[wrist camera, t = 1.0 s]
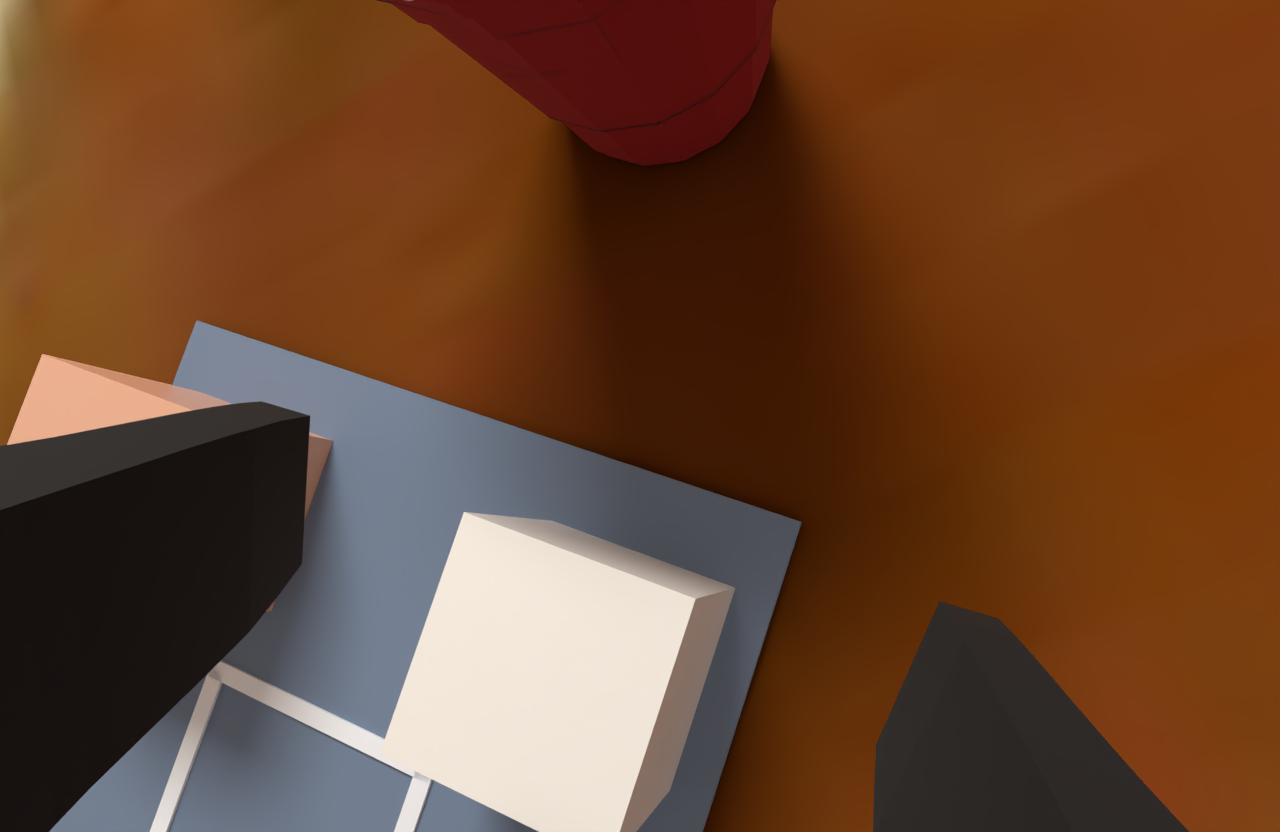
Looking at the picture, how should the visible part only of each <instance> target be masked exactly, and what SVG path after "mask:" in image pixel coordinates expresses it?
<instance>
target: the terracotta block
mask: <svg viewBox="0 0 1280 832" xmlns="http://www.w3.org/2000/svg"><path fill="white" fill-rule="evenodd" d="M229 404H231V403H229V402H226V401H223V400H220V399H218V398H215V397H212V396H210V395H207V394H204V393H201V392H199V391H194V390H190V389H186V388H182V387H178V386H174V385H170V384H165V383H161V382H157V381H153V380H149V379H145V378H140V377H136V376H132V375H128V374H124V373H120V372H115V371H111V370H107V369H103V368H99V367H95V366H91V365H86V364H82V363H78V362H74V361H70V360H66V359H61V358H57V357H53V356H49V355H45V354H42V356H41V359H40V361H39V364H38V367H37V369H36V372H35V374H34V377H33V379H32V382H31V385H30V387H29V390H28V392H27V395H26V397H25V400H24V403H23V405H22V408H21V410H20V413H19V415H18V418H17V421H16V423H15V426H14V428H13V431H12V433H11V436H10V438H9V441H8V444H7V445H10V444H16V443H22V442H28V441H33V440H39V439H45V438H51V437H57V436H62V435H67V434H72V433H78V432H83V431H88V430H93V429H98V428H103V427H108V426H114V425H119V424H124V423H129V422H134V421H139V420H144V419H150V418H155V417H160V416H165V415H170V414H176V413H181V412H186V411H192V410H197V409H203V408H209V407H215V406H222V405H229ZM332 443H333V440H330V439H327V438H324V437H322V436H319V435H316V434H314V433H311V432H309V448H308V465H307V483H306V501H305V517H306V514H307V512H308V509H309V506H310V503H311V501H312V498H313V495H314V492H315V490H316V487H317V484H318V481H319V478H320V476H321V473H322V470H323V467H324V465H325V462H326V459H327V456H328V454H329V451H330V448H331V445H332ZM304 520H305V518H304ZM275 600H276V599H275ZM274 603H275V601H274V602H273V603H272V604H271V606H270V607H269V608H268V609H267V611H272V608H273V606H274ZM267 611H266V612H267Z"/></svg>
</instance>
